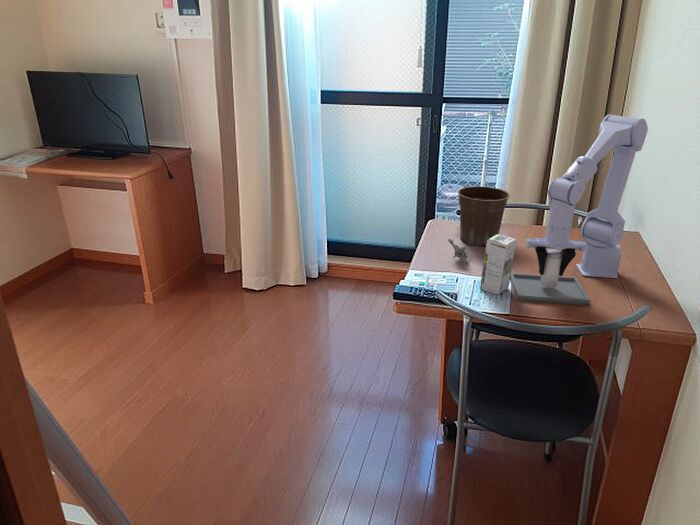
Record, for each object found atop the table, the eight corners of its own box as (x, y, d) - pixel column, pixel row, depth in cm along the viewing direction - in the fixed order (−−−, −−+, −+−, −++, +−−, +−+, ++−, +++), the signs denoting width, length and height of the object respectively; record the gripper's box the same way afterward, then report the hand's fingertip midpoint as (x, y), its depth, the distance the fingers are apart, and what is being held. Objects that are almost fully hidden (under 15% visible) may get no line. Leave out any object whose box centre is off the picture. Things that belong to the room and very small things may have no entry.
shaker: (554, 281, 146) (560, 249, 143) (559, 287, 142) (565, 255, 138) (538, 280, 146) (543, 248, 143) (542, 286, 142) (547, 254, 139)
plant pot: (448, 243, 175) (452, 196, 169) (458, 228, 189) (463, 183, 182) (499, 252, 169) (505, 202, 163) (506, 235, 183) (512, 189, 177)
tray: (575, 281, 150) (576, 277, 149) (589, 305, 137) (590, 300, 137) (509, 277, 152) (509, 272, 151) (517, 300, 139) (517, 295, 139)
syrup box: (489, 282, 149) (495, 233, 143) (509, 288, 146) (516, 238, 140) (479, 289, 145) (485, 238, 139) (500, 295, 142) (507, 244, 136)
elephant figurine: (480, 259, 164) (475, 259, 156) (465, 271, 166) (459, 271, 158) (460, 233, 167) (454, 232, 158) (445, 245, 168) (438, 245, 160)
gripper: (532, 229, 134) (524, 278, 140) (593, 232, 133) (582, 282, 138) (527, 219, 141) (520, 267, 146) (585, 223, 139) (575, 270, 145)
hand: (550, 273), depth 143 cm, fingers closed on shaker, 4 cm apart
